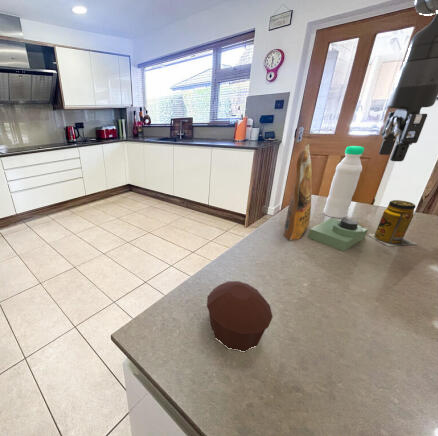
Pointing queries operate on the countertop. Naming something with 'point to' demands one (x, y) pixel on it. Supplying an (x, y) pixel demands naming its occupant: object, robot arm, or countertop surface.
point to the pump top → (348, 224)
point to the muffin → (238, 314)
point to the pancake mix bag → (300, 198)
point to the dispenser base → (336, 234)
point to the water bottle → (344, 183)
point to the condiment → (395, 223)
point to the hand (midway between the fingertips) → (389, 157)
